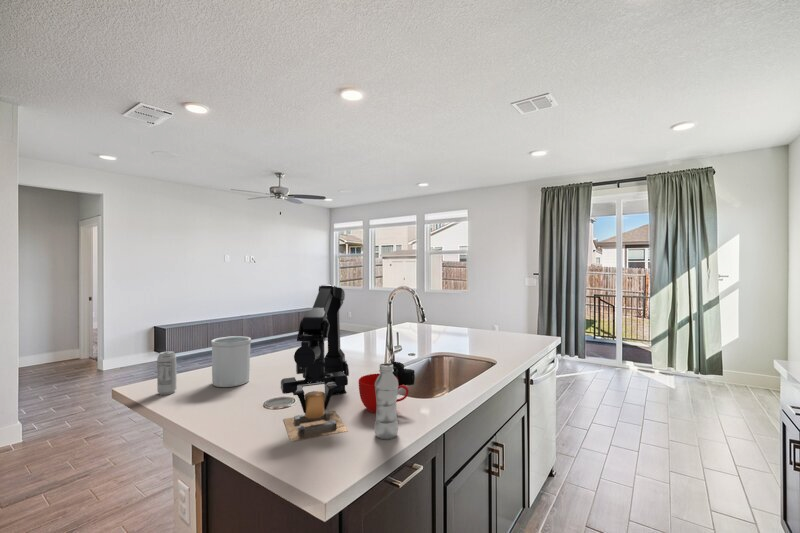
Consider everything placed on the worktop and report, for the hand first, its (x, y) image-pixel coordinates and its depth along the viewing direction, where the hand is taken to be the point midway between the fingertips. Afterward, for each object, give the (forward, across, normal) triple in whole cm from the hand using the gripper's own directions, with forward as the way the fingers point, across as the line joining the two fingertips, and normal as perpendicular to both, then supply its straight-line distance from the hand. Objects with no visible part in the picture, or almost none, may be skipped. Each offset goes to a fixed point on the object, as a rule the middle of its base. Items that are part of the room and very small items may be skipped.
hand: (314, 411), depth 110 cm
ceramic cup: (+5, -23, -3) cm, 24 cm away
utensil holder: (+5, +23, -56) cm, 61 cm away
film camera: (+5, -39, -24) cm, 46 cm away
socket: (+4, 0, 0) cm, 5 cm away
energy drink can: (+5, +45, -52) cm, 69 cm away
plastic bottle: (+5, -17, +15) cm, 23 cm away
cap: (+1, 0, 0) cm, 1 cm away
